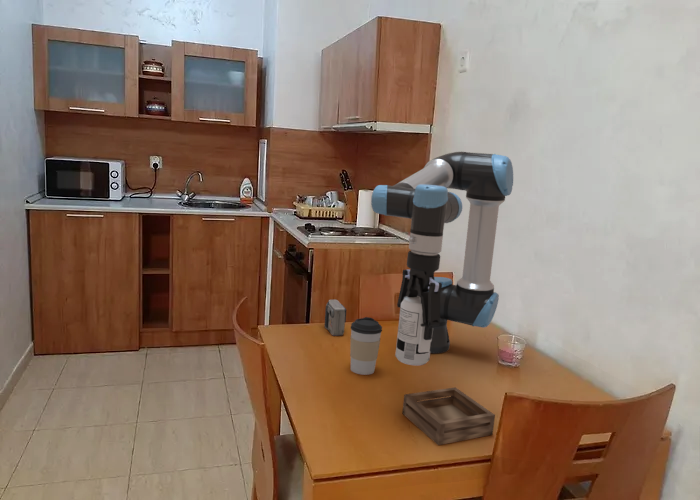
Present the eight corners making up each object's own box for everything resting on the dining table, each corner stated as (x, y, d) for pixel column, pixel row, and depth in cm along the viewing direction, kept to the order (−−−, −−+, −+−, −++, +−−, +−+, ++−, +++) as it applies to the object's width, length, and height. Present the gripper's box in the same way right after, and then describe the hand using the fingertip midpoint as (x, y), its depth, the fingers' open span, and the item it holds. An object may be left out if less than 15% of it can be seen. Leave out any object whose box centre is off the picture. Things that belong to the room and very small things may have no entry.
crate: (453, 405, 145) (455, 387, 144) (492, 434, 131) (495, 414, 130) (402, 413, 138) (404, 394, 137) (438, 445, 124) (440, 424, 124)
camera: (323, 325, 199) (325, 298, 197) (338, 325, 200) (341, 298, 199) (329, 336, 188) (331, 308, 186) (346, 336, 190) (348, 308, 188)
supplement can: (392, 352, 138) (399, 293, 135) (425, 354, 139) (432, 296, 136) (397, 365, 130) (403, 303, 127) (432, 367, 131) (439, 305, 128)
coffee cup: (375, 378, 157) (380, 327, 155) (343, 373, 159) (348, 322, 156) (380, 366, 166) (384, 318, 163) (350, 361, 168) (354, 314, 165)
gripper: (388, 243, 137) (380, 331, 142) (435, 262, 119) (423, 363, 123) (415, 243, 140) (405, 329, 145) (464, 261, 122) (451, 360, 126)
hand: (413, 344), depth 134 cm, fingers closed on supplement can, 8 cm apart
